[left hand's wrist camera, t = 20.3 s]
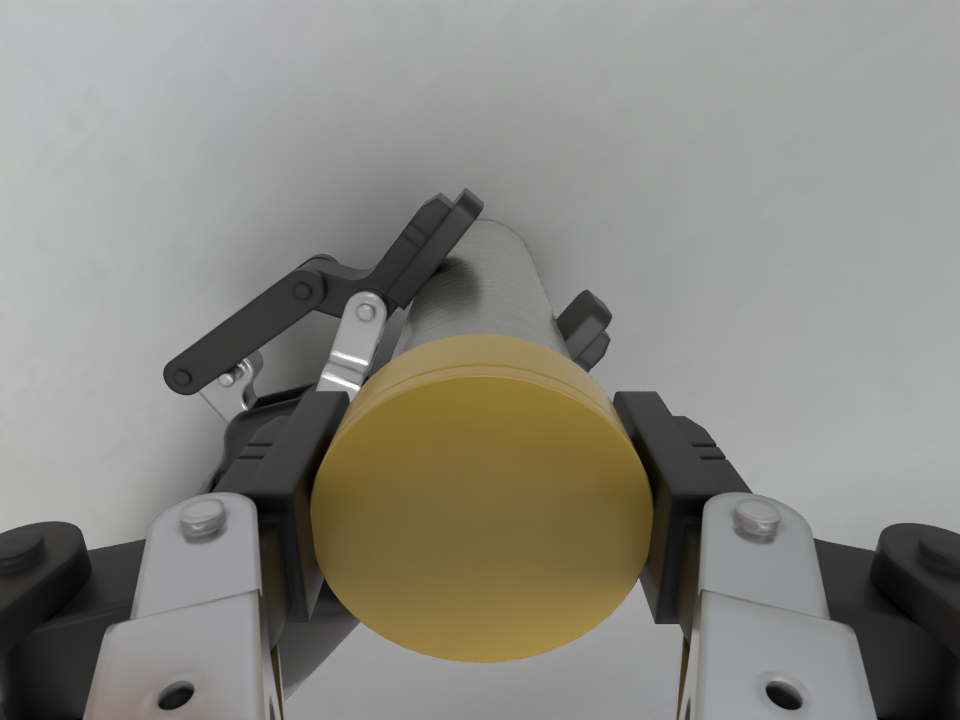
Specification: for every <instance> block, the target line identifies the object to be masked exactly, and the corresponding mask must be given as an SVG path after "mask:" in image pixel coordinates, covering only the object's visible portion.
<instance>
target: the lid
mask: <svg viewBox="0 0 960 720" xmlns="http://www.w3.org/2000/svg"><path fill="white" fill-rule="evenodd" d="M653 512H654V504H653V495H652V491H651V487H650V484H649V480H648V477H647V474H646V472H645V469H644V467H643V465H642V463H641V461H640V458H639V456H638V454H637V452H636V450H635V448H634V446H633V444H632V442H631V440H630V438H629V435H628V433H627V431H626V429H625V427H624V425H623V423H622V421H621V419H620V417H619V415H618V413H617V411H616V408H615V406H614V405H613V403H612V402H611V400H610V399H609V397H608V396H607V394H606V393H605V391H604V390H603V389H602V388H601V387H600V385H599V384H598V383H597V382H596V381H595V380H594V379H593V377H591V376H590V375H589V374H588V373H587V372H586V371H585V370H583V369H582V368H581V367H580V366H579V365H577V364H576V363H574V362H573V361H571V360H570V359H568V358H567V357H565V356H564V355H562V354H560V353H558V352H556V351H554V350H552V349H550V348H548V347H546V346H543V345H541V344H538V343H534V342H531V341H528V340H525V339H521V338H516V337H511V336H506V335H496V334H467V335H457V336H452V337H447V338H441V339H438V340H435V341H431V342H428V343H425V344H422V345H419V346H417V347H415V348H413V349H411V350H409V351H407V352H405V353H403V354H401V355H399V356H398V357H396V358H395V359H393V360H392V361H390V362H388V363H387V364H385V365H384V366H383V367H382V368H381V369H379V370H378V371H377V372H376V373H375V374H374V375H372V376H371V377H370V378H369V380H368V381H367V382H366V383H365V384H364V385H363V386H362V387H361V389H360V390H359V391H358V392H357V394H356V395H355V397H354V398H353V400H352V401H351V403H350V405H349V406H348V408H347V410H346V412H345V414H344V417H343V419H342V421H341V423H340V425H339V427H338V429H337V431H336V433H335V436H334V438H333V440H332V442H331V444H330V446H329V448H328V450H327V452H326V455H325V457H324V459H323V461H322V463H321V465H320V468H319V470H318V472H317V474H316V477H315V481H314V484H313V488H312V491H311V496H310V514H311V523H312V532H313V540H314V548H315V555H316V560H317V563H318V566H319V568H320V570H321V572H322V574H323V576H324V578H325V580H326V582H327V583H328V585H329V587H330V588H331V590H332V591H333V592H334V594H335V595H336V596H337V598H338V599H339V600H340V602H341V603H342V604H343V605H344V606H345V607H346V608H347V609H348V610H349V611H350V612H351V613H352V614H353V615H354V616H355V617H356V618H357V619H359V620H360V621H361V622H362V623H364V624H365V625H366V626H367V627H369V628H370V629H372V630H373V631H375V632H376V633H378V634H379V635H381V636H383V637H384V638H386V639H388V640H390V641H392V642H394V643H396V644H398V645H400V646H402V647H405V648H408V649H410V650H413V651H416V652H418V653H421V654H425V655H429V656H433V657H437V658H441V659H447V660H454V661H461V662H480V663H483V662H502V661H509V660H516V659H522V658H526V657H530V656H534V655H538V654H542V653H544V652H547V651H550V650H553V649H555V648H558V647H561V646H563V645H565V644H567V643H569V642H571V641H573V640H575V639H577V638H579V637H580V636H582V635H583V634H585V633H587V632H588V631H590V630H591V629H593V628H594V627H596V626H597V625H598V624H599V623H601V622H602V621H603V620H604V619H606V618H607V617H608V616H609V615H610V614H611V613H612V612H613V611H614V610H615V609H616V608H617V607H618V606H619V605H620V604H621V603H622V602H623V600H624V599H625V598H626V596H627V595H628V594H629V592H630V591H631V590H632V588H633V587H634V585H635V583H636V582H637V580H638V578H639V576H640V574H641V572H642V571H643V568H644V566H645V563H646V560H647V557H648V553H649V546H650V538H651V530H652V521H653Z"/></svg>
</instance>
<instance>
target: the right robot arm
mask: <svg viewBox="0 0 960 720" xmlns="http://www.w3.org/2000/svg"><path fill="white" fill-rule="evenodd" d="M483 207H484V206H483V202H482V201H481V200H480V199H479V198H477V197H476V196H475V195H474V194H473V193H471V192H470V191H469V190H468V189H467V188H465V189H464V190H463V191H462V192H461V194H460V195H459V196H458V198H457V199H456V200H455V201H454V203H452V202H451V201H450V200H449V199H448V198H446V197H445V196H444V195H443V194H441V193H439V194H438V195H436V196H434V197H432V198H431V199H429V200H427V201H426V202H425V203H424V204H423V205H422V207H421V208H420V209H419V211H418V212H417V213H416V215H415V216H414V217H413V219H412V220H411V221H410V223H409V224H408V225H407V227H406V228H405V229H404V231H403V232H402V233H401V235H400V236H399V237H398V239H397V240H396V241H395V242H394V244H393V245H392V246H391V248H390V249H389V250H388V252H387V253H386V254H385V256H384V257H383V258H382V260H381V261H380V262H379V263H378V264H377V265H376V266H375V267H373V268H370V269H367V270H356V269H352V268H349V267H346V266H343V265H340V264H339V263H338V262H337V261H336V260H335V259H334V258H333V257H331V256H329V255H326V254H318V255H315V256H313V257H311V258H310V259H308V260H307V261H306V262H304V263H303V264H302V265H300V266H299V267H297V268H296V269H295V270H293V271H292V272H291V273H289V274H288V275H287V276H285V277H284V278H282V279H281V280H280V281H278V282H277V283H276V284H274V285H273V286H272V287H270V288H269V289H267V290H266V291H265V292H263V293H262V294H261V295H259V296H258V297H257V298H255V299H254V300H252V301H251V302H250V303H248V304H247V305H246V306H244V307H243V308H242V309H240V310H239V311H238V312H236V313H235V314H233V315H232V316H231V317H229V318H228V319H227V320H225V321H224V322H223V323H221V324H220V325H218V326H217V327H216V328H214V329H213V330H212V331H210V332H209V333H208V334H206V335H205V336H203V337H202V338H201V339H199V340H198V341H197V342H195V343H194V344H193V345H191V346H190V347H189V348H187V349H186V350H185V351H183V352H182V353H181V354H179V355H178V356H177V357H175V358H174V359H173V360H171V361H170V362H169V363H168V364H167V365H166V366H165V368H164V372H163V375H164V380H165V382H166V384H167V385H168V387H169V388H170V389H171V390H173V391H174V392H176V393H178V394H181V395H192V394H195V393H197V392H199V393H200V394H201V396H202V397H203V398H204V399H205V400H206V401H207V402H208V403H209V404H210V405H211V406H212V407H213V408H214V409H215V411H216V412H217V413H218V414H219V415H220V416H221V417H222V418H223V419H224V420H225V421H226V422H227V423H228V426H227V428H226V431H225V435H224V452H223V456H222V459H221V461H220V463H219V464H218V465H217V467H216V468H215V469H214V471H213V472H212V473H211V475H210V476H209V477H208V479H207V480H206V481H205V483H204V484H203V485H202V487H201V488H200V489H199V491H198V492H197V493H196V495H195V496H199V495H203V494H209V493H212V491H213V490H214V489H215V487H216V486H217V485H218V483H219V482H220V480H221V479H222V478H223V476H224V475H225V474H226V472H227V471H228V469H229V468H230V467H231V465H232V464H233V463H234V461H235V460H236V459H238V456H239V454H240V453H241V452H242V450H243V449H244V448H245V446H248V442H249V441H250V439H251V438H252V437H253V435H254V434H255V433H256V431H257V430H258V429H259V428H260V427H262V426H263V425H265V424H266V423H268V422H270V421H271V420H273V419H274V418H276V417H278V416H291V415H292V413H293V412H294V410H295V409H296V407H297V406H298V404H299V403H300V401H301V399H302V398H303V396H304V395H305V393H306V392H307V391H347V393H348V395H349V399H350V403H351V401H352V400H353V398H354V397H355V395H356V394H357V392H358V391H359V390H360V389H361V387H362V386H363V385H364V384H365V383H366V382H367V381H368V380H369V378H370V377H369V374H370V371H371V369H372V366H373V363H374V360H375V358H376V355H377V352H378V349H379V346H380V342H381V339H382V337H383V334H384V331H385V328H386V325H387V323H388V320H389V317H390V316H391V315H392V313H393V312H394V311H395V310H396V308H397V307H398V306H399V307H401V308H402V309H403V310H405V308H406V307H407V306H408V305H409V303H410V302H411V301H412V300H413V298H414V297H415V296H416V294H417V293H418V292H419V290H420V289H421V287H422V286H423V285H424V284H425V283H426V281H427V280H428V279H429V278H430V277H431V275H432V274H433V273H434V272H435V270H436V269H437V268H438V267H439V265H440V264H441V263H442V262H443V260H444V259H445V258H446V256H447V255H448V254H449V253H450V251H451V250H452V249H453V248H454V246H455V245H456V244H457V243H458V241H459V240H460V239H461V237H462V236H463V235H464V234H465V232H466V231H467V230H468V229H469V227H470V226H471V225H472V224H473V222H474V221H475V220H476V218H477V217H478V216H479V214H480V213H481V211H482V210H483ZM312 310H316V311H319V312H322V313H326V314H329V315H332V316H335V317H338V318H341V322H340V325H339V328H338V331H337V334H336V337H335V340H334V343H333V347H332V350H331V352H330V355H329V357H328V360H327V362H326V364H325V366H324V369H323V371H322V374H321V377H320V380H319V382H316V383H312V384H308V385H304V386H300V387H297V388H293V389H289V390H285V391H281V392H277V393H273V394H269V395H265V396H261V397H258V398H257V396H256V395H255V393H254V390H253V381H254V379H255V377H256V376H257V375H258V374H259V373H260V372H261V370H262V368H263V359H262V356H261V354H260V353H259V351H258V349H259V348H260V347H262V346H263V345H264V344H266V343H267V342H269V341H270V340H271V339H273V338H274V337H276V336H277V335H279V334H280V333H281V332H283V331H284V330H286V329H287V328H288V327H290V326H291V325H293V324H294V323H295V322H297V321H298V320H300V319H301V318H302V317H304V316H305V315H307V314H308V313H309V312H311V311H312ZM611 319H612V314H611V313H610V311H609V310H608V308H607V307H606V305H605V304H604V303H603V302H602V301H601V300H599V299H598V298H597V297H596V296H595V295H593V294H592V293H591V292H590V291H589V290H584V291H583V292H581V293H580V294H579V295H578V296H577V297H576V298H575V299H574V300H573V301H572V303H571V304H570V305H569V306H568V307H567V308H566V309H565V310H564V311H563V313H562V314H561V315H560V316H559V317H558V318H557V319H556V321H557V324H558V327H559V329H560V332H561V334H562V337H563V339H564V342H565V344H566V347H567V349H568V352H569V354H570V357H571V360H572V361H573V362H574V363H576V364H577V365H579V366H580V367H581V368H582V369H583V370H585V371H586V372H587V373H588V372H589V371H590V369H591V368H593V367H594V366H595V365H596V364H597V362H598V361H599V360H600V359H601V358H602V357H603V356H604V355H605V352H606V350H607V347H608V345H609V342H610V340H611V339H610V338H609V336H608V335H607V333H606V331H605V329H606V328H607V326H608V325H609V323H610V321H611ZM195 496H194V497H195ZM360 622H361V621H360V620H359V619H357V618H356V617H355V616H354V615H353V614H352V613H351V612H350V611H349V610H348V609H347V608H346V607H345V606H344V605H343V604H342V603H341V602H340V600H339V599H338V598H337V596H336V595H335V594H334V592H333V591H332V590H331V588H330V587H329V585H328V583H327V582H326V580H325V578H324V580H323V583H322V586H321V589H320V592H319V595H318V598H317V601H316V603H315V606H314V609H313V612H312V615H311V618H310V621H309V623H285V624H284V626H283V629H282V631H281V634H280V636H279V639H278V641H277V642H278V648H279V654H280V664H281V675H282V686H283V697H284V702H285V701H286V700H287V699H288V698H289V697H290V696H291V695H292V694H293V692H294V691H295V690H296V689H297V688H298V687H299V686H300V685H301V684H302V683H303V682H304V681H305V680H306V679H307V678H308V677H309V676H310V675H311V674H312V672H314V671H315V669H316V668H317V667H318V666H319V665H320V664H321V663H322V662H323V661H324V660H325V659H326V658H327V657H328V656H329V655H330V654H331V652H332V651H333V650H334V649H335V648H336V647H337V646H338V645H339V644H340V643H341V642H342V641H343V640H344V639H345V638H346V637H347V636H348V635H349V634H350V632H351V631H352V630H353V629H354V628H355V627H356V626H357V625H358V624H359V623H360Z"/></svg>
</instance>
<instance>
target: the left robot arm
mask: <svg viewBox="0 0 960 720" xmlns="http://www.w3.org/2000/svg"><path fill="white" fill-rule="evenodd" d="M349 405H350V399H349V395H348V393H347V391H307V392H306V393H305V395H304V396H303V398H302V399H301V401H300V403H299V404H298V406H297V407H296V409H295V410H294V412H293V413H292V415H291V416H278V417H276V418H274V419H273V420H271V421H270V422H268V423H266V424H265V425H263V426H262V427H260V428H259V429H258V430H257V431H256V433H255V434H254V435H253V437H252V438H251V439H250V441H249V442H248V446H245V448H244V449H243V450H242V452H241V453H240V454H239V456H238V459H236V460H235V461H234V463H233V464H232V465H231V467H230V468H229V469H228V471H227V472H226V474H225V475H224V476H223V478H222V479H221V480H220V482H219V483H218V485H217V486H216V487H215V489H214V490H213V491H212V493H209V494H203V495H199V496H195V497H192V498H189V499H186V500H184V501H181V502H179V503H177V504H175V505H173V506H171V507H170V508H168V509H167V510H165V511H164V512H162V513H161V514H160V515H159V516H158V517H157V518H156V519H155V520H154V521H153V522H152V524H151V525H150V527H149V530H148V534H147V539H143V540H139V541H134V542H129V543H124V544H119V545H114V546H109V547H104V548H99V549H94V550H89V551H87V548H86V545H85V541H84V538H83V534H82V532H81V530H80V529H79V528H78V527H77V526H75V525H73V524H71V523H66V522H58V521H54V522H41V523H35V524H29V525H25V526H22V527H18V528H15V529H12V530H9V531H6V532H4V533H1V534H0V720H286V719H285V708H284V697H283V686H282V675H281V664H280V654H279V648H278V642H277V641H278V639H279V636H280V634H281V631H282V629H283V626H284V624H285V623H309V621H310V618H311V615H312V612H313V609H314V606H315V603H316V601H317V598H318V595H319V592H320V589H321V586H322V583H323V580H324V576H323V574H322V572H321V570H320V568H319V566H318V563H317V560H316V555H315V548H314V540H313V532H312V523H311V514H310V496H311V491H312V488H313V484H314V481H315V477H316V474H317V472H318V470H319V468H320V465H321V463H322V461H323V459H324V457H325V455H326V452H327V450H328V448H329V446H330V444H331V442H332V440H333V438H334V436H335V433H336V431H337V429H338V427H339V425H340V423H341V421H342V419H343V417H344V414H345V412H346V410H347V408H348V406H349ZM613 405H614V406H615V408H616V411H617V413H618V415H619V417H620V419H621V421H622V423H623V425H624V427H625V429H626V431H627V433H628V435H629V438H630V440H631V442H632V444H633V446H634V448H635V450H636V452H637V454H638V456H639V458H640V461H641V463H642V465H643V467H644V469H645V472H646V474H647V477H648V480H649V484H650V487H651V491H652V495H653V504H654V512H653V521H652V530H651V538H650V546H649V553H648V557H647V560H646V563H645V566H644V568H643V571H642V572H641V574H640V576H639V579H640V582H641V584H642V587H643V590H644V593H645V596H646V599H647V602H648V604H649V607H650V610H651V613H652V616H653V619H654V621H655V624H680V626H681V628H682V631H683V633H684V635H683V641H682V648H681V654H680V663H679V674H678V685H677V696H676V707H675V718H674V720H960V534H957V533H954V532H952V531H949V530H946V529H942V528H938V527H935V526H930V525H924V524H916V523H901V524H895V525H891V526H889V527H887V528H885V529H884V530H883V531H882V532H881V534H880V537H879V541H878V544H877V547H876V551H871V550H866V549H861V548H856V547H851V546H846V545H841V544H836V543H831V542H826V541H822V540H818V539H815V538H813V534H812V530H811V527H810V525H809V524H808V522H807V521H806V520H805V519H804V518H803V517H802V516H801V515H800V514H799V513H798V512H796V511H795V510H793V509H792V508H790V507H789V506H787V505H785V504H783V503H781V502H779V501H776V500H774V499H771V498H768V497H765V496H761V495H757V494H753V493H752V492H751V490H750V489H749V488H748V486H747V485H746V483H745V482H744V481H743V479H742V478H741V477H740V475H739V474H738V473H737V471H736V470H735V469H734V467H733V466H732V465H731V463H730V462H729V461H728V460H726V458H725V455H724V454H723V452H722V451H721V450H720V448H719V447H716V443H715V442H714V440H713V439H712V438H711V436H710V435H709V434H708V432H707V431H706V430H705V429H704V428H703V427H701V426H699V425H698V424H696V423H695V422H693V421H691V420H690V419H688V418H687V417H685V416H672V414H671V413H670V411H669V410H668V408H667V407H666V405H665V404H664V402H663V401H662V399H661V398H660V396H659V395H658V393H657V392H616V394H615V396H614V400H613Z"/></svg>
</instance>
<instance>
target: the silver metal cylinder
mask: <svg viewBox="0 0 960 720" xmlns="http://www.w3.org/2000/svg"><path fill="white" fill-rule="evenodd" d="M467 334H496V335H506V336H511V337H516V338H521V339H525V340H528V341H531V342H534V343H538V344H541V345H543V346H546V347H548V348H550V349H552V350H554V351H556V352H558V353H560V354H562V355H564V356H565V357H567V358H568V359H570V360H571V357H570V354H569V352H568V349H567V347H566V344H565V342H564V339H563V337H562V334H561V332H560V329H559V327H558V324H557V321H556V319H555V316H554V314H553V311H552V309H551V306H550V304H549V301H548V299H547V296H546V294H545V291H544V288H543V286H542V283H541V281H540V278H539V276H538V273H537V271H536V268H535V266H534V263H533V261H532V258H531V255H530V253H529V251H528V249H527V247H526V245H525V244H524V242H523V241H522V239H521V238H520V237H519V236H518V235H517V234H516V233H515V232H514V231H512V230H511V229H509V228H508V227H506V226H504V225H502V224H499V223H496V222H493V221H488V220H475V221H474V222H473V224H472V225H471V226H470V227H469V229H468V230H467V231H466V232H465V234H464V235H463V236H462V237H461V239H460V240H459V241H458V243H457V244H456V245H455V246H454V248H453V249H452V250H451V251H450V253H449V254H448V255H447V256H446V258H445V259H444V260H443V262H442V263H441V264H440V265H439V267H438V268H437V269H436V270H435V272H434V273H433V274H432V275H431V277H430V278H429V279H428V280H427V281H426V283H425V284H424V285H423V286H422V287H421V289H420V290H419V292H418V293H417V294H416V296H415V298H414V300H413V303H412V306H411V308H410V311H409V313H408V316H407V319H406V321H405V324H404V326H403V329H402V331H401V334H400V337H399V339H398V342H397V344H396V347H395V350H394V352H393V355H392V357H391V360H390V361H392V360H393V359H395V358H396V357H398V356H399V355H401V354H403V353H405V352H407V351H409V350H411V349H413V348H415V347H417V346H419V345H422V344H425V343H428V342H431V341H435V340H438V339H441V338H447V337H452V336H457V335H467ZM571 361H572V360H571Z"/></svg>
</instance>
